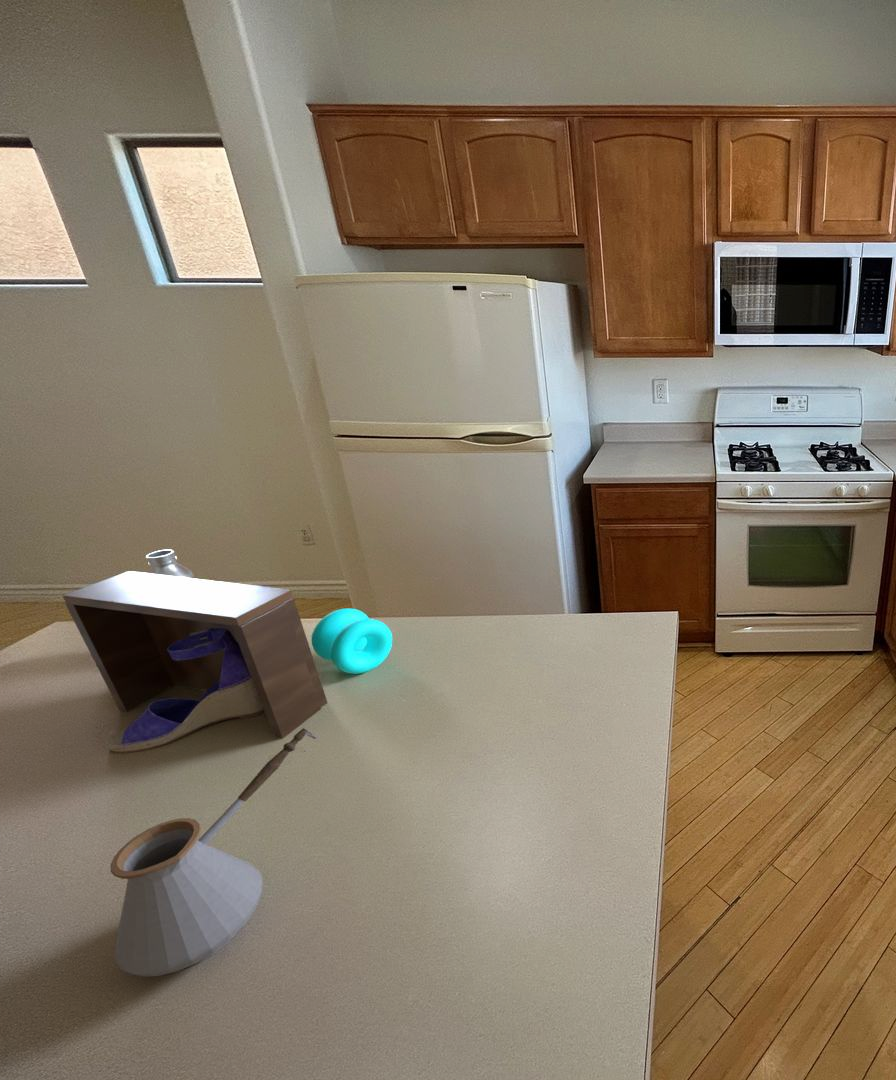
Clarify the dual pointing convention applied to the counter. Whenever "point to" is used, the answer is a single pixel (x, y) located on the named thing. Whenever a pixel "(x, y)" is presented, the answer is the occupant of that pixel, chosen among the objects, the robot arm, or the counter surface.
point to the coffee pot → (185, 890)
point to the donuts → (352, 640)
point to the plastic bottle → (167, 564)
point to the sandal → (188, 715)
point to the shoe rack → (190, 606)
